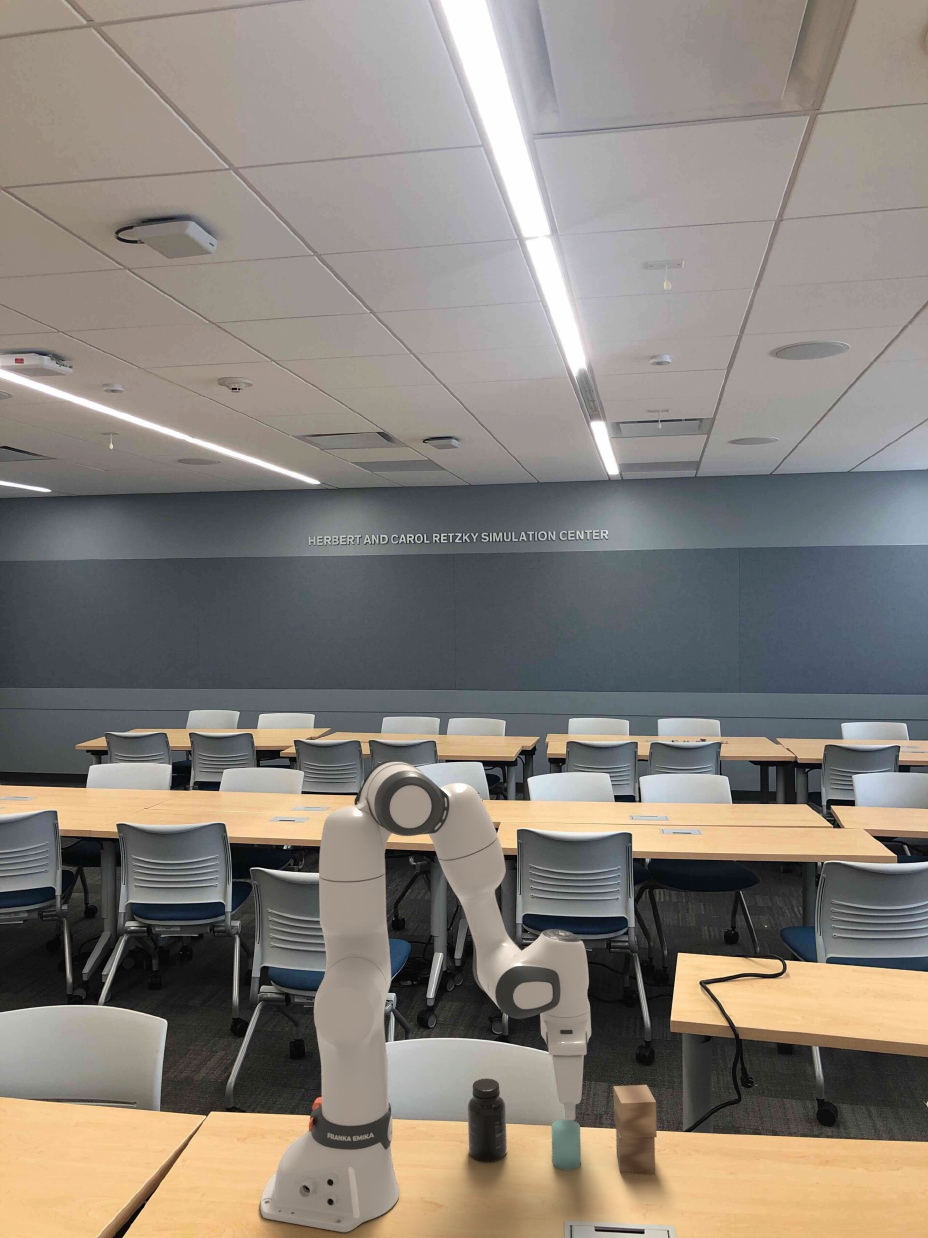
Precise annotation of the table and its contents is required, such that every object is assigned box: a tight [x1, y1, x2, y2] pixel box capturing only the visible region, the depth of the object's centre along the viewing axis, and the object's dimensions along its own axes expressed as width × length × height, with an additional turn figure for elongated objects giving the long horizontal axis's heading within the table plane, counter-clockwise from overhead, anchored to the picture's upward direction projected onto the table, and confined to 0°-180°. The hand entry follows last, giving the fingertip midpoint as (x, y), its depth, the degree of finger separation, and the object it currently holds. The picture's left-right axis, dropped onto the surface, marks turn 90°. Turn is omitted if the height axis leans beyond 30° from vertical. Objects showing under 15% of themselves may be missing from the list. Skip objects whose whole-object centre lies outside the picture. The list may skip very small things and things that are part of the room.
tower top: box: [612, 1084, 658, 1139], centre depth 156 cm, size 6×6×6 cm
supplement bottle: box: [467, 1078, 508, 1163], centre depth 159 cm, size 7×7×12 cm
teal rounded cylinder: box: [551, 1118, 582, 1171], centre depth 156 cm, size 5×5×6 cm
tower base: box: [615, 1125, 656, 1175], centre depth 155 cm, size 6×6×6 cm
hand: (569, 1104), depth 157 cm, fingers open, 8 cm apart
